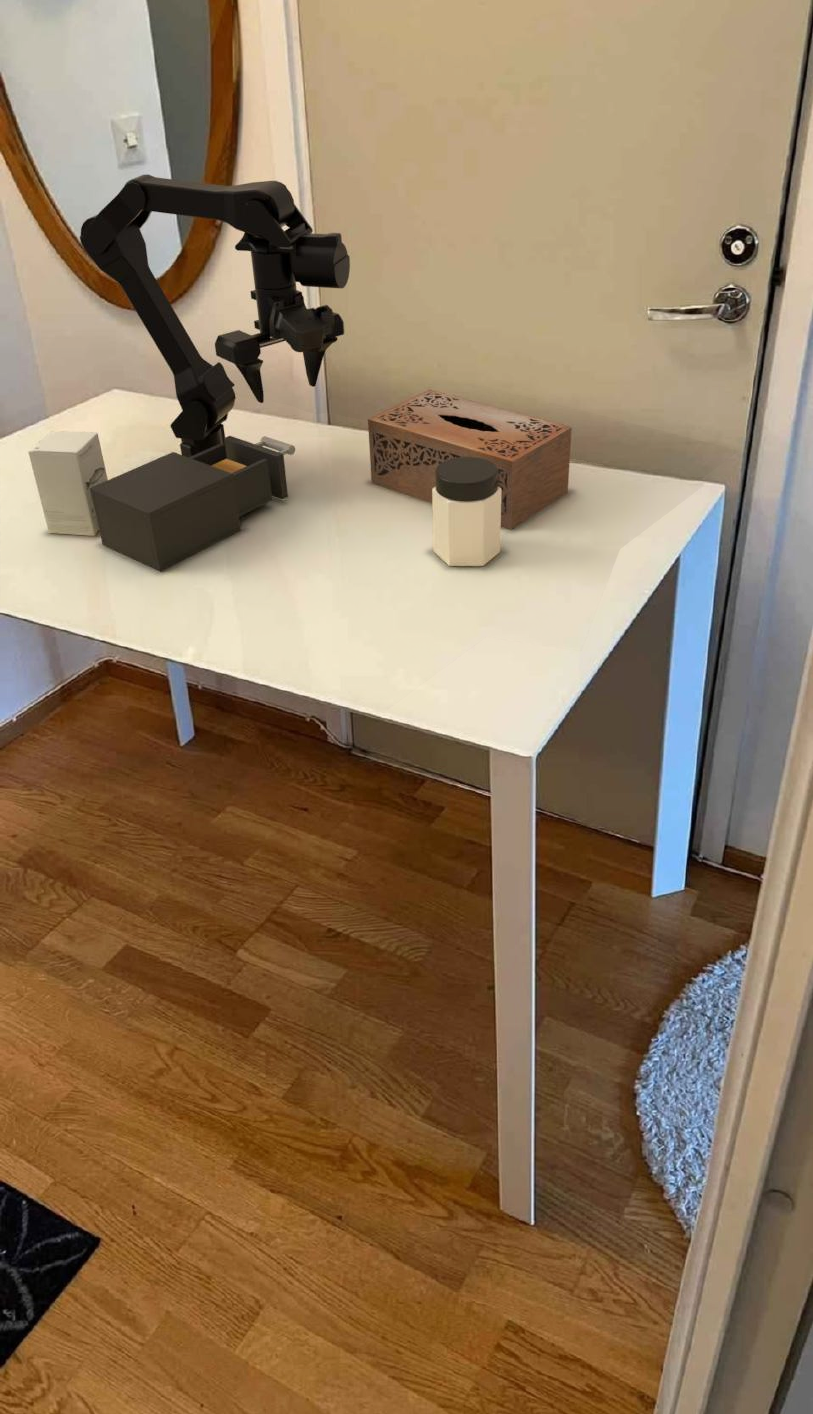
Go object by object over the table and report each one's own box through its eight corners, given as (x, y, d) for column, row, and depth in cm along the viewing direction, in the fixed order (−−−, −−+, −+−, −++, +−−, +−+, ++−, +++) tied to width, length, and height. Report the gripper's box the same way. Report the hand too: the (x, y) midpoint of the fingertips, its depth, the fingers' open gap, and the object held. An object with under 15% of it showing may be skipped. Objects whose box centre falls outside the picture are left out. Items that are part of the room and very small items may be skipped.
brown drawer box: (182, 506, 158) (173, 451, 153) (241, 530, 151) (232, 473, 146) (102, 544, 149) (89, 488, 144) (160, 571, 142) (148, 513, 137)
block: (230, 486, 158) (226, 458, 156) (251, 494, 156) (247, 465, 153) (208, 497, 156) (203, 468, 153) (228, 505, 153) (224, 476, 151)
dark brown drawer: (258, 466, 166) (253, 424, 162) (311, 485, 160) (307, 442, 156) (167, 510, 155) (158, 466, 151) (219, 532, 149) (212, 487, 145)
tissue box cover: (567, 492, 157) (571, 427, 151) (510, 529, 148) (512, 462, 142) (431, 450, 171) (429, 389, 165) (371, 482, 162) (367, 419, 156)
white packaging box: (95, 537, 151) (76, 453, 143) (47, 533, 152) (25, 450, 145) (117, 513, 157) (99, 431, 149) (70, 510, 158) (50, 429, 151)
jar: (510, 559, 142) (512, 475, 135) (456, 574, 139) (455, 489, 132) (477, 531, 148) (477, 450, 141) (424, 545, 146) (422, 463, 138)
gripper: (249, 311, 138) (264, 426, 147) (364, 281, 147) (370, 391, 157) (205, 294, 145) (221, 405, 154) (317, 266, 154) (326, 373, 164)
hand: (286, 394), depth 157 cm, fingers open, 9 cm apart
